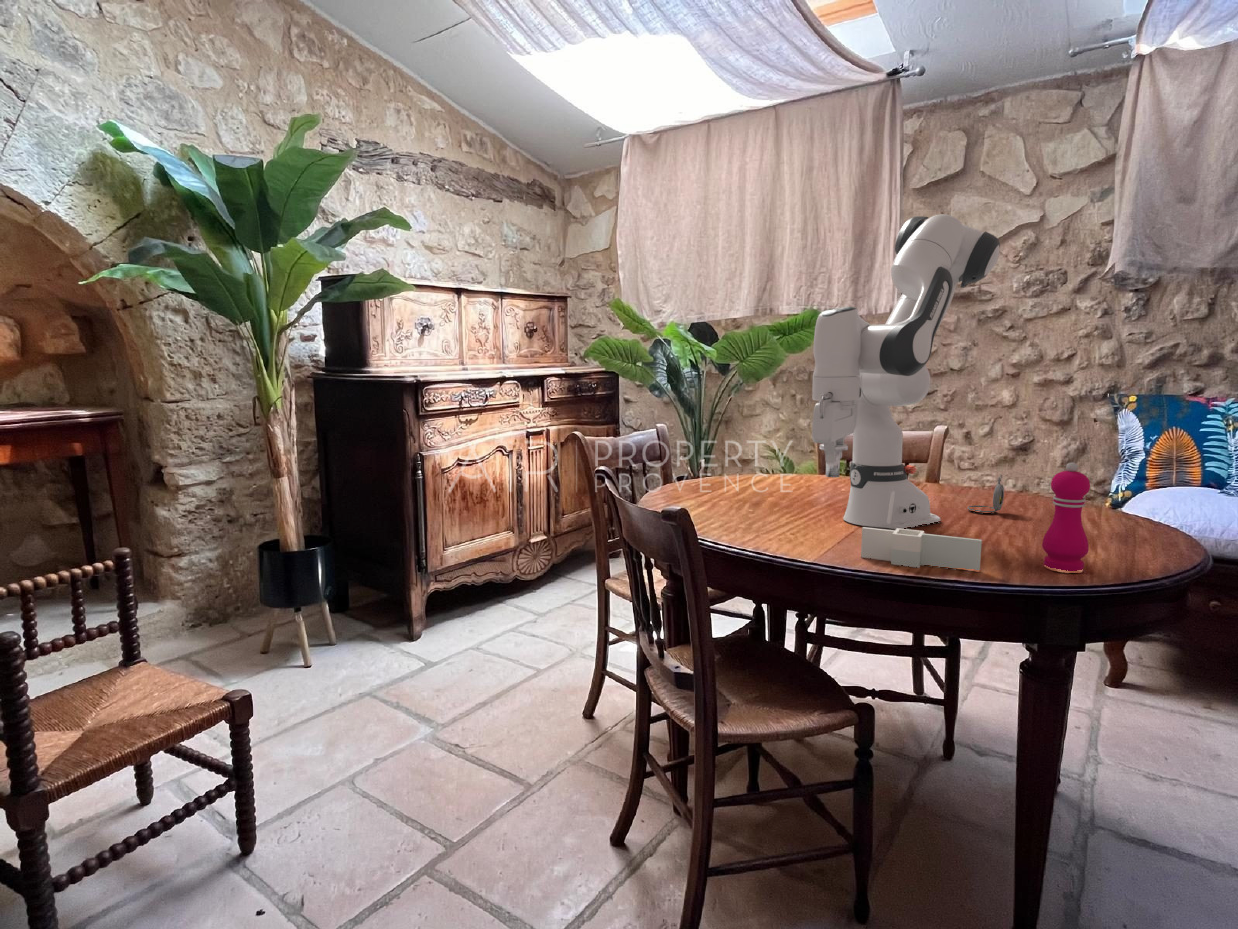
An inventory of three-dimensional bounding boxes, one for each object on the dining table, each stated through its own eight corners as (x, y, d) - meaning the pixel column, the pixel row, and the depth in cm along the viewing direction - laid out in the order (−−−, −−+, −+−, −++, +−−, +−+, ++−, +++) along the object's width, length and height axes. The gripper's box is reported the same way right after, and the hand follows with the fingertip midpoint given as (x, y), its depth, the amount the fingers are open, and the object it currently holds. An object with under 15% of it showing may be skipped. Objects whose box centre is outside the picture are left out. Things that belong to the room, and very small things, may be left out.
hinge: (980, 568, 130) (982, 537, 129) (978, 575, 126) (980, 543, 125) (864, 553, 141) (865, 524, 140) (858, 560, 137) (859, 530, 136)
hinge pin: (836, 473, 143) (837, 443, 142) (852, 477, 138) (853, 446, 137) (813, 475, 141) (814, 444, 140) (828, 479, 136) (829, 447, 135)
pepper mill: (1031, 564, 132) (1039, 460, 129) (1067, 562, 133) (1076, 459, 130) (1058, 575, 125) (1067, 466, 122) (1096, 574, 126) (1106, 464, 123)
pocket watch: (963, 509, 180) (966, 470, 179) (998, 509, 179) (1000, 471, 178) (975, 516, 172) (977, 476, 171) (1011, 516, 171) (1014, 476, 170)
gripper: (838, 394, 127) (836, 469, 129) (863, 388, 144) (861, 455, 146) (804, 394, 130) (802, 467, 132) (832, 388, 147) (830, 453, 149)
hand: (833, 460), depth 139 cm, fingers closed on hinge pin, 3 cm apart
